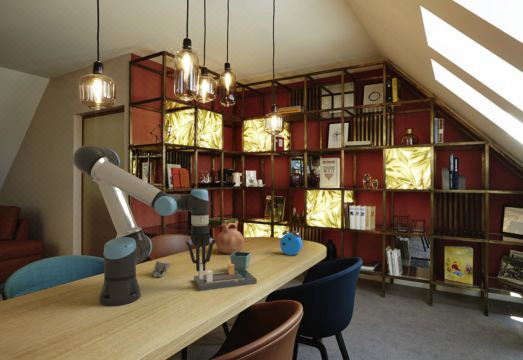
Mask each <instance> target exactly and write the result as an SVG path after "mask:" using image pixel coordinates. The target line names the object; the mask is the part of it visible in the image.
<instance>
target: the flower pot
mask: <svg viewBox="0 0 523 360" xmlns="http://www.w3.org/2000/svg"><path fill="white" fill-rule="evenodd" d="M251 254H252V253H251V252H249V251H248V252H246V251H240V252H234V253H233V254H232V255H230V257H229V258H230V264H234V265H235V267H234V271H244V270H247V271H248V268H249V265H250V261H251Z"/></svg>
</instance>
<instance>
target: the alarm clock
mask: <svg viewBox="0 0 523 360" xmlns="http://www.w3.org/2000/svg"><path fill="white" fill-rule="evenodd" d="M281 234H282V237H281V238H280V242H279V246H280V250H281V251H282V252H283V253H284V254H285V255H288V256H295V255H298V253H299V252H301V250H302V248H303V241H302V237H301V234H300V232H299V231H297V230H294V231H293V232H291V231H289V230H284V231H282V233H281Z"/></svg>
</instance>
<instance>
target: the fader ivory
mask: <svg viewBox="0 0 523 360" xmlns="http://www.w3.org/2000/svg"><path fill="white" fill-rule="evenodd" d="M213 274H214V272H213V271H212V270H210V269H208V270H205V275H206V282H213Z"/></svg>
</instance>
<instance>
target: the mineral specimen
mask: <svg viewBox="0 0 523 360" xmlns="http://www.w3.org/2000/svg"><path fill="white" fill-rule="evenodd" d="M171 266H172V263H171V262H161V261H160V260H156V261H155V264H154V270H152V271H151V274H152V276H153V278H154V279H158V278H162V277H164V275H165V273H166V272H168V270H169V269H170V268H171Z"/></svg>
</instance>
